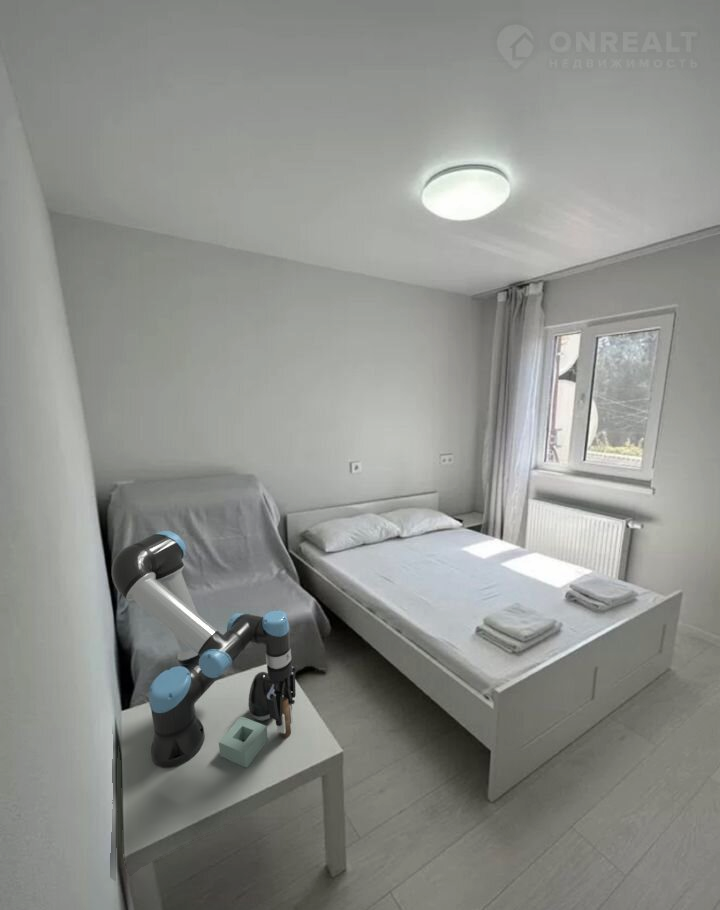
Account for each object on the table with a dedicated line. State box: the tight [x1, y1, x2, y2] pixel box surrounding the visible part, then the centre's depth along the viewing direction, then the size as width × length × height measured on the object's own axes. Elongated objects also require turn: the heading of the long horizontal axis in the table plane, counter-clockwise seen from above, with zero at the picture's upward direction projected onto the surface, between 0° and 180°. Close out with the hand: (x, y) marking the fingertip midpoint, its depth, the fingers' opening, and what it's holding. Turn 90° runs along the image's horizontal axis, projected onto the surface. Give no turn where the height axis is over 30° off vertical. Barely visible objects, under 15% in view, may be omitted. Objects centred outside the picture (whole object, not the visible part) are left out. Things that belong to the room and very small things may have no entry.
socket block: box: [218, 716, 269, 769], centre depth 122 cm, size 10×10×5 cm
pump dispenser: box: [247, 671, 271, 721], centre depth 133 cm, size 10×10×15 cm
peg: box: [280, 697, 292, 739], centre depth 125 cm, size 3×3×12 cm
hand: (285, 726), depth 126 cm, fingers closed on peg, 3 cm apart
